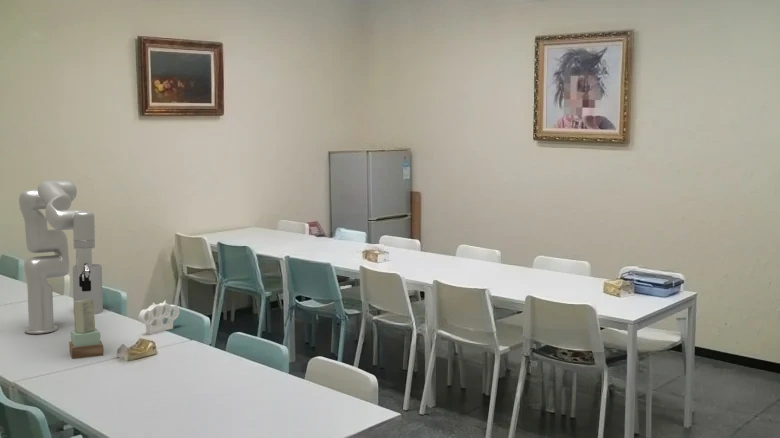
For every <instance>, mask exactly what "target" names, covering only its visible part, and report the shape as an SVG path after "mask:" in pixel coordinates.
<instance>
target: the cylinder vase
mask: <svg viewBox="0 0 780 438" xmlns="http://www.w3.org/2000/svg"><path fill="white" fill-rule="evenodd" d="M102 267H103V266H102V264H100V263H92V274H90V280H91V291H84V292H83V291H82V287H80V286H79V277H81V276H80V275H78V274H77V272H76V264H75V265H72V293H73V297H72V298H73V299H72V300H73V302H74V301H77V300H81V299H94V316H95V315H100V314H101V313H103V311H104V307H103V305H104V303H103V302H104V300H103V271H102V269H103V268H102Z"/></svg>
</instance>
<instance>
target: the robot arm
mask: <svg viewBox="0 0 780 438" xmlns="http://www.w3.org/2000/svg"><path fill="white" fill-rule="evenodd" d="M77 193H78V192H77V186H76V184H75V183H74V182H73V181H71V180H70V179H69V180H68V179H62V180H61V179H57V180H56V179H50V180H48V179H47V180H44V181H42V182H40V183H39V184H38V186H37V188H33V189H27V190H24V191H22V192H21V193H20V195H19V198H18V205H19V209H20V213H21V214H22V217H23V220H24V229H25V241H26V242H25V243H26V248H27V250H28V252H29V253H33V254H43V253H53V254H50V255H40V256H32V257H30V258H28V259H26V260H25V262H24V265H23V268H24V274H25V275H24V276H25V279H26V288H27V309H28V310H27V311H28V313H27V314H28V315H27V316H28V326H27V327H26V328H24V333H27V334H32V335H33V334H35V335H36V334H37V335H38V334H48V333H53V332H56V331H58V330H59V329H58V328H59V327H58V325H55V323H54V322H55V321H54V299H53V298H54V296H53V287H52V285H51V284H50V283H49V282H48V281H47V279H51V278H52V279H54V278H61V277H65V276H67V275H68V274H69V273H70V259H69V258H70V256H69V254H70V253H69V242H68V237H67V234H66V232H65V231H68V230H72V233H73V234H72V237H73V239H72V241H73V243H72V244H73V249H74V250H76V252H75V265H76V272H77V274H78V275H80V276H81V277H79V286H80V287H82V291H83V292H84V291H91V280H90V274H92V264H93V252H92V251H93V249H95V248H96V233H95V232H96V231H95V227H96V226H95V214H94V212H92V211H88V210H86V209H70V207H71V205H72V202H73V201H74V200H75V199H76V197H77ZM41 210H44V211H45V212H44V213H43V212H42V211H41ZM48 224H49V226H51V227H52V228H53V229H49V227H48Z"/></svg>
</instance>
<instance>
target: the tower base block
mask: <svg viewBox="0 0 780 438" xmlns="http://www.w3.org/2000/svg"><path fill="white" fill-rule="evenodd" d="M68 344H69V346H68V347H69V349H68V350H69V354H70V357H71V359H73V360H75V359H76V360H77V359H84V358H93V357H101V356H104V344H103V342H102V341H101V339H100V344H98V345H90V346H81V347H75V346H74V345H73V344H72V343H71V341H69V343H68Z"/></svg>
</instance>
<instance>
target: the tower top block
mask: <svg viewBox="0 0 780 438" xmlns="http://www.w3.org/2000/svg"><path fill="white" fill-rule="evenodd" d="M100 340H101V332H100V331H99V330H98V329H97V328H96V327H95V330H93V331H89V332H86V333H76V332H75V329H74V330H72V329H71V330H70V342H71V343H72V344H73V345H74V346H75V347H81V346H90V345H98V344H100Z"/></svg>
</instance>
